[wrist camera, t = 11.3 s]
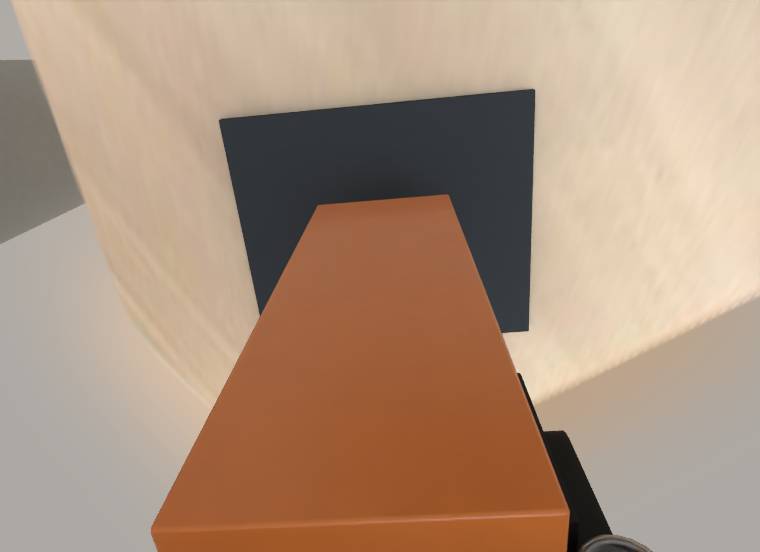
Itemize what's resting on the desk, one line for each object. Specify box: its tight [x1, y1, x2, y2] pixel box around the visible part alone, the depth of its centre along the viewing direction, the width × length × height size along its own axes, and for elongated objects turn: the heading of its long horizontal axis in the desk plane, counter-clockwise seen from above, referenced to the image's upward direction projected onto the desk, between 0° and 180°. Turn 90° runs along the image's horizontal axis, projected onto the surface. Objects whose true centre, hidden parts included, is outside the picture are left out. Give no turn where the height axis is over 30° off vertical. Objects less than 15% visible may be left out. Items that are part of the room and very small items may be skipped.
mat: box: [219, 89, 535, 333], centre depth 25 cm, size 14×12×1 cm
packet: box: [151, 194, 570, 552], centre depth 13 cm, size 4×7×13 cm, turn 5°
